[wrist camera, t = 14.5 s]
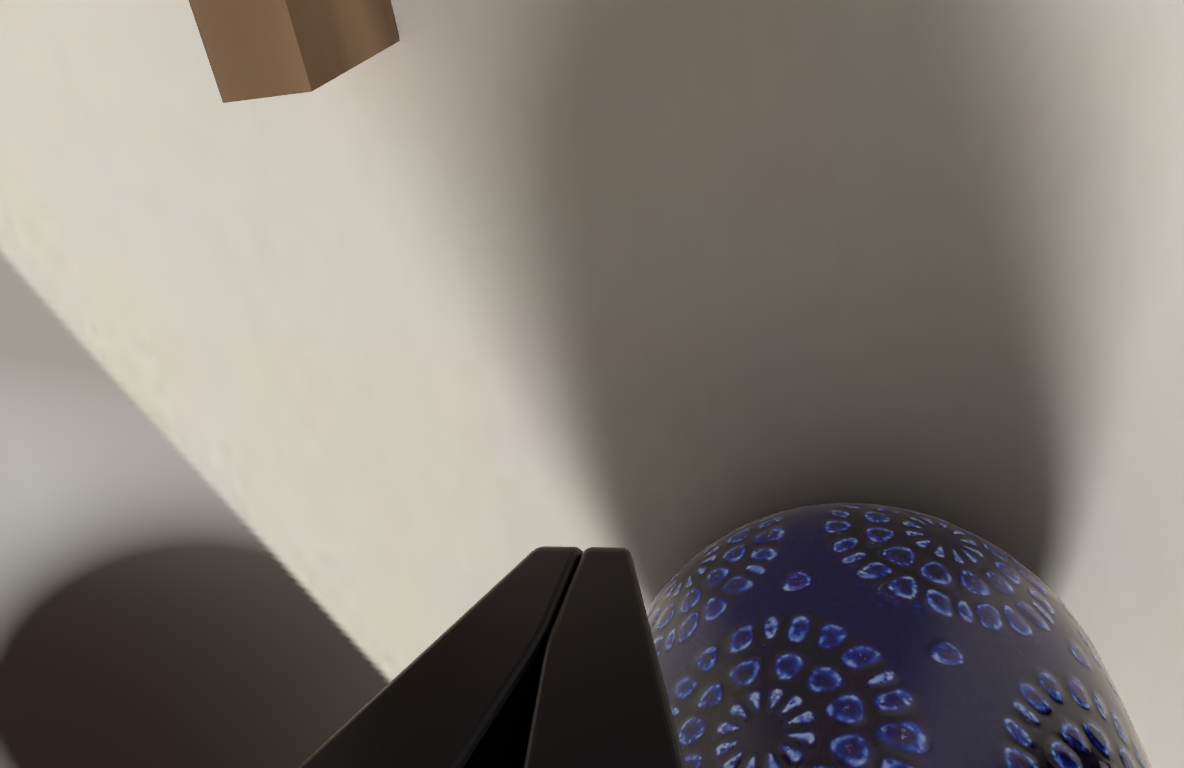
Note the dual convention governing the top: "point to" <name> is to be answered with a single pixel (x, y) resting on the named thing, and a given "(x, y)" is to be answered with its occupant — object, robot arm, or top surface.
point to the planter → (879, 651)
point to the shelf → (289, 42)
